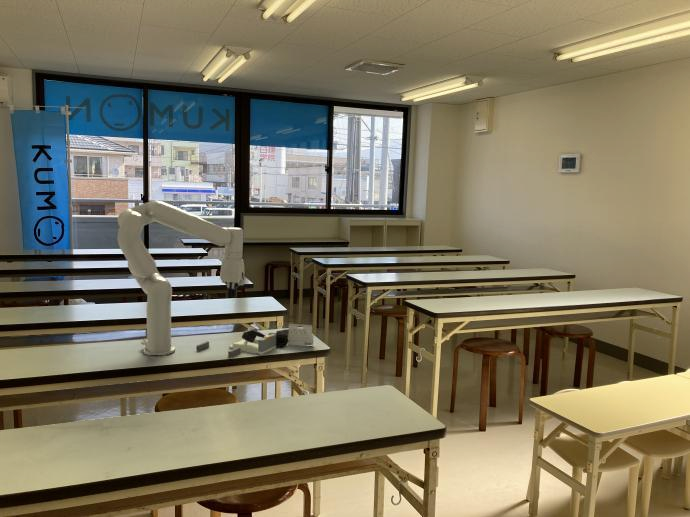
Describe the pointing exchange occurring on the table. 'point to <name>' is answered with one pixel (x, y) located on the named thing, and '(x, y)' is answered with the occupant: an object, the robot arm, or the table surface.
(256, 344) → the port dock
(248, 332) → the power plug
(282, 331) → the phone
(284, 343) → the webcam
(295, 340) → the ink cartridge box
